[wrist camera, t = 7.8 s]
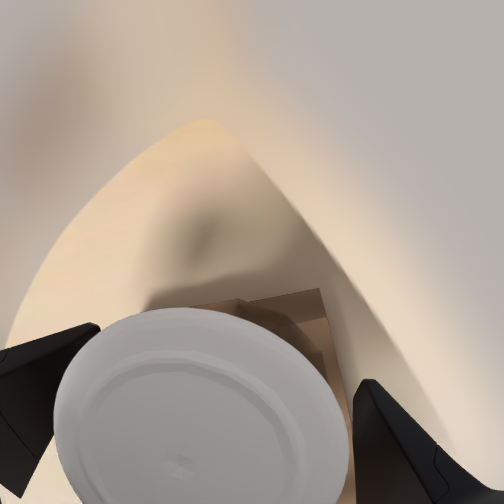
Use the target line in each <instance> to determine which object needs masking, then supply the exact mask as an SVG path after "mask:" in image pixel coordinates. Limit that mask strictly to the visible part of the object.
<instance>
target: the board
mask: <svg viewBox="0 0 504 504" xmlns="http://www.w3.org/2000/svg"><path fill="white" fill-rule="evenodd" d="M189 308H195V309H205V310H212V311H217V312H222V313H227V314H229V315H232V316H235V317H238V318H241V319H244V320H247V321H250V322H252V323H254V324H256V325H258V326H260V327H263V328H265V329H266V330H268V331H270V332H272V333H273V334H275V335H277V336H278V337H280V338H281V339H283V340H284V341H286V342H287V343H289V344H290V345H291V346H293V347H294V348H295V349H296V350H298V351H299V352H300V353H301V354H302V355H303V356H304V357H305V358H306V359H307V360H308V361H309V362H310V363H311V364H312V365H313V366H314V367H315V368H316V369H317V371H318V372H319V373H320V374H321V375H322V377H323V378H324V379H325V381H326V382H327V384H328V385H329V387H330V388H331V390H332V392H333V394H334V396H335V398H336V400H337V402H338V404H339V407H340V409H341V411H342V413H343V417H344V421H345V424H346V428H347V432H348V442H349V461H348V472H347V475H346V478H345V483H344V487H343V489H342V492H341V494H340V496H339V498H338V500H337V502H336V504H356V487H355V469H354V456H353V443H352V428H351V423H350V417H349V412H348V407H347V402H346V397H345V393H344V388H343V383H342V379H341V374H340V370H339V365H338V361H337V357H336V353H335V348H334V344H333V340H332V336H331V332H330V328H329V324H328V320H327V317H326V313H325V309H324V305H323V301H322V298H321V294H320V290H319V288H317V289H312V290H307V291H303V292H298V293H293V294H288V295H283V296H277V297H272V298H267V299H261V300H256V301H250V302H246V301H243V300H240V299H237V300H231V301H225V302H219V303H213V304H206V305H200V306H194V307H189Z"/></svg>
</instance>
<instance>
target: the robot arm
mask: <svg viewBox="0 0 504 504" xmlns="http://www.w3.org/2000/svg"><path fill="white" fill-rule="evenodd" d="M99 332H101V329H100V327H99V326H98V325H96V324H94V323H90V322H89V323H85V324H82V325H79V326H76V327H73V328H70V329H67V330H64V331H61V332H58V333H55V334H51V335H48V336H45V337H42V338H39V339H36V340H33V341H30V342H26V343H23V344H20V345H17V346H14V347H11V348H7V349H4V350H1V351H0V484H1V485H3V486H4V487H5V488H6V489H8V490H9V491H10V492H12V493H13V494H14V495H16V496H17V497H19V498H20V499H21V497H22V496H23V494H24V492H25V490H26V487H27V485H28V483H29V481H30V479H31V477H32V475H33V473H34V471H35V469H36V467H37V465H38V463H39V460H40V459H41V457H42V456H43V454H44V452H45V450H46V448H47V446H48V445H49V443H50V441H51V439H52V437H53V436H54V406H55V400H56V395H57V391H58V388H59V385H60V383H61V380H62V378H63V376H64V373H65V371H66V369H67V368H68V366H69V364H70V363H71V361H72V359H73V358H74V357H75V356H76V354H77V353H78V352H79V350H80V349H81V348H82V347H83V346H84V345H85V344H86V343H87V342H88V341H89V340H90V339H92V338H93V337H94V336H95V335H97V334H98V333H99ZM352 443H353V456H354V469H355V487H356V504H504V491H498V490H493V489H490V488H488V487H486V486H485V485H483V484H482V483H481V482H480V481H478V480H477V479H476V478H475V477H473V476H472V475H471V474H470V473H468V472H467V471H466V470H465V469H464V468H462V467H461V466H460V465H459V464H458V463H457V462H456V461H454V460H453V459H452V458H451V457H450V456H449V455H448V454H447V453H446V452H445V451H444V450H443V449H442V448H441V447H440V446H439V445H437V443H436V442H435V441H434V440H433V439H432V438H431V437H430V436H429V435H428V433H427V432H426V431H425V430H424V429H423V428H422V427H421V426H420V425H419V424H418V423H417V422H416V421H415V420H414V419H413V418H412V417H411V416H410V415H409V414H408V413H407V412H406V411H405V410H404V409H403V408H402V407H401V406H400V405H399V403H398V402H397V401H396V400H395V399H394V398H393V397H392V396H391V395H390V394H389V393H388V392H387V391H386V390H385V389H384V388H383V387H382V386H381V385H380V384H379V383H378V382H377V381H376V380H375V379H363V380H362V382H361V383H360V385H359V387H358V389H357V391H356V393H355V395H354V398H353V429H352ZM0 504H2V503H1V499H0Z"/></svg>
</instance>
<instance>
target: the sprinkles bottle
mask: <svg viewBox="0 0 504 504" xmlns="http://www.w3.org/2000/svg"><path fill="white" fill-rule="evenodd" d="M54 435H55V443H56V447H57V451H58V456H59V459H60V462H61V464H62V467H63V470H64V472H65V474H66V476H67V478H68V480H69V482H70V484H71V486H72V488H73V490H74V491H75V493H76V494H77V496H78V497H79V499H80V500H81V501H82V503H83V504H336V502H337V500H338V498H339V496H340V494H341V492H342V489H343V487H344V483H345V478H346V475H347V472H348V461H349V442H348V432H347V428H346V424H345V421H344V417H343V413H342V411H341V409H340V407H339V404H338V402H337V400H336V398H335V396H334V394H333V392H332V390H331V388H330V387H329V385H328V384H327V382H326V381H325V379H324V378H323V377H322V375H321V374H320V373H319V372H318V371H317V369H316V368H315V367H314V366H313V365H312V364H311V363H310V362H309V361H308V360H307V359H306V358H305V357H304V356H303V355H302V354H301V353H300V352H299V351H298V350H296V349H295V348H294V347H293V346H291V345H290V344H289V343H287V342H286V341H284V340H283V339H281V338H280V337H278V336H277V335H275V334H273V333H272V332H270V331H268V330H266V329H265V328H263V327H260V326H258V325H256V324H254V323H252V322H250V321H247V320H244V319H241V318H238V317H235V316H232V315H229V314H227V313H222V312H217V311H212V310H205V309H195V308H185V307H182V308H163V309H157V310H151V311H146V312H143V313H140V314H136V315H133V316H129V317H127V318H124V319H122V320H120V321H117V322H115V323H114V324H112V325H110V326H108V327H106V328H105V329H103V330H102V331H101V332H99V333H98V334H97V335H95V336H94V337H93V338H92V339H90V340H89V341H88V342H87V343H86V344H85V345H84V346H83V347H82V348H81V349H80V350H79V352H78V353H77V354H76V356H75V357H74V358H73V359H72V361H71V363H70V364H69V366H68V368H67V369H66V371H65V373H64V376H63V378H62V380H61V383H60V385H59V388H58V391H57V395H56V400H55V406H54Z"/></svg>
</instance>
